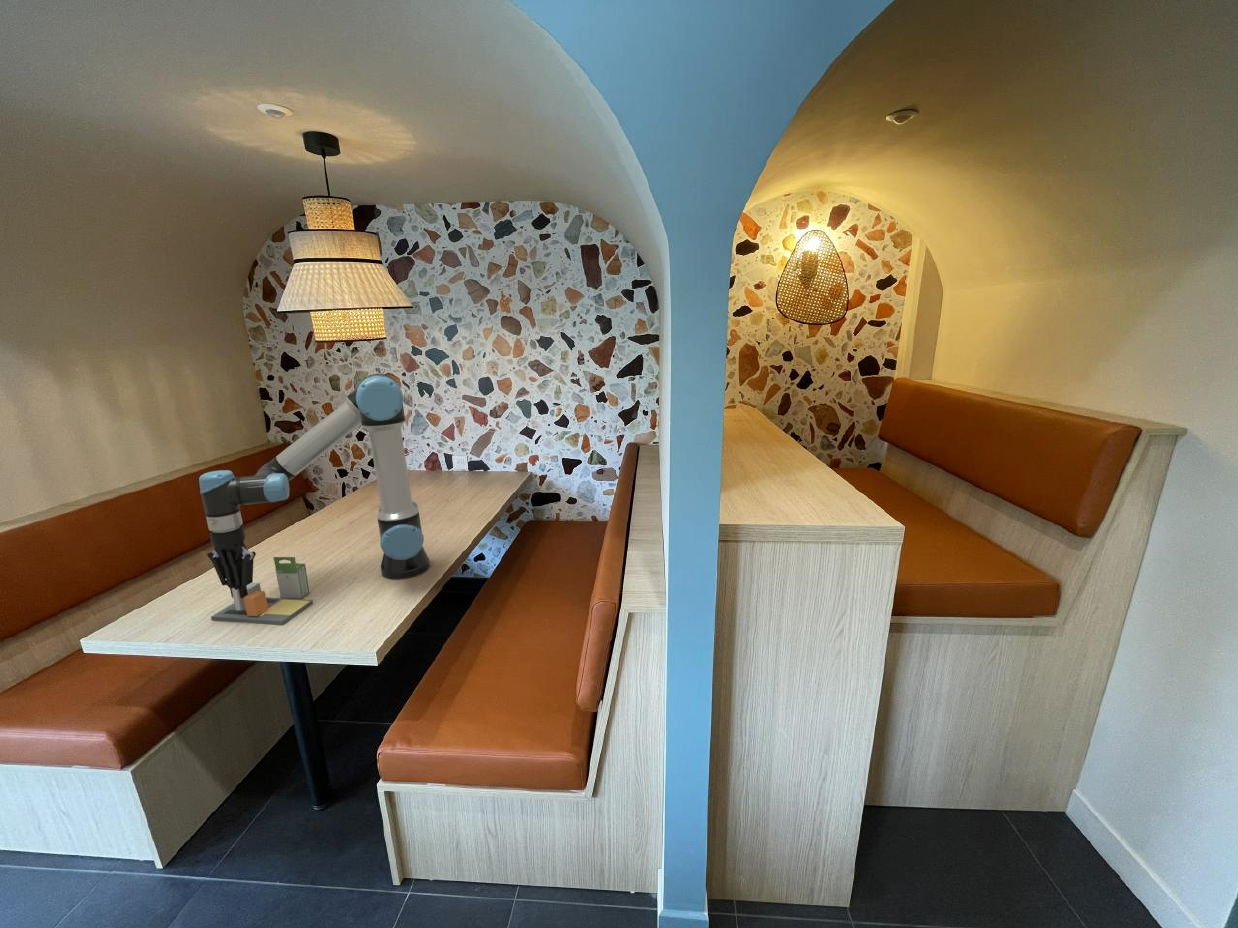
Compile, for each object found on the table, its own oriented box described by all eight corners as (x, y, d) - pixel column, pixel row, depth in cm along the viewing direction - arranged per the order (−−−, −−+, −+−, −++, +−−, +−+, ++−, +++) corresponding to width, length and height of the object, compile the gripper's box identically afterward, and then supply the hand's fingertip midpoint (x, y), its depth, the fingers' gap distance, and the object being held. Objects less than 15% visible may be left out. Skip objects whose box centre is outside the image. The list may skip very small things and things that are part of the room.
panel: (246, 599, 162) (243, 582, 160) (313, 603, 159) (310, 585, 157) (211, 620, 150) (207, 601, 149) (282, 625, 147) (279, 606, 146)
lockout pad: (282, 599, 159) (282, 599, 159) (310, 601, 157) (310, 600, 157) (261, 613, 151) (261, 613, 151) (290, 615, 150) (290, 614, 150)
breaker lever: (258, 608, 153) (255, 590, 152) (268, 608, 153) (264, 591, 151) (247, 615, 149) (243, 597, 148) (256, 616, 149) (253, 597, 148)
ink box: (310, 592, 165) (303, 552, 162) (301, 599, 161) (294, 557, 158) (289, 592, 166) (281, 551, 163) (280, 598, 162) (272, 556, 159)
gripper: (192, 532, 143) (210, 613, 149) (236, 534, 141) (252, 616, 147) (216, 522, 150) (232, 600, 156) (258, 524, 148) (273, 602, 154)
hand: (242, 607), depth 151 cm, fingers closed
